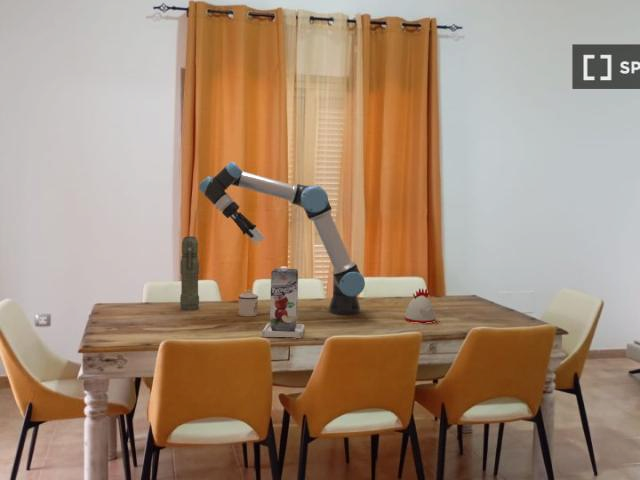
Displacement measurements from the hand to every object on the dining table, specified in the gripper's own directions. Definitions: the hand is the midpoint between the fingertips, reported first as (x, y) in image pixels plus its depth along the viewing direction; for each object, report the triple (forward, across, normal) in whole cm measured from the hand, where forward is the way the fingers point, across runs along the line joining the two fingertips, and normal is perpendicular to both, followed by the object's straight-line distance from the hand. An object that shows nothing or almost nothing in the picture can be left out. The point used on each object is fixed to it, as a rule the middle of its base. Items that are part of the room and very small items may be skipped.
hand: (260, 241), depth 274 cm
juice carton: (+34, +24, -15) cm, 44 cm away
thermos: (-1, -20, -52) cm, 56 cm away
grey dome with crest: (+77, -10, +26) cm, 82 cm away
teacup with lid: (+20, -12, -31) cm, 39 cm away
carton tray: (+35, +24, -16) cm, 45 cm away
